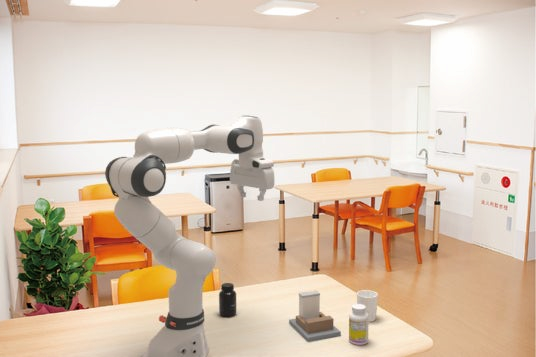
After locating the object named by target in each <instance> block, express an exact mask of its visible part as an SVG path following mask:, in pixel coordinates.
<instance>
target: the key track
mask: <svg viewBox="0 0 536 357" xmlns="http://www.w3.org/2000/svg"><path fill="white" fill-rule="evenodd" d="M288 324H289V325H290V326H291V327H292V328H293V329H294V330H295V331H296V332H297V333H298V334H299V335H300V336H301V337H302V338H303V339H304V340H305V341H306V342H308V343H309V342H315V341H320V340H325V339H330V338H335V337H341V335H342V331H341V330H339V328H337V327H336V326H335V325H334V318H333V317H332V316H331V315H326V314H324V312H321V311H320V317H319V318H313V319H307V320H305V321H304V320H303V319H302V318H301V317H300V316H299V314H298V315H296V316H295V318H290V319H289V320H288Z"/></svg>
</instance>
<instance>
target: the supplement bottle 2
mask: <svg viewBox="0 0 536 357" xmlns="http://www.w3.org/2000/svg"><path fill="white" fill-rule="evenodd" d="M351 310H352V311H351V312H350V313H349V314H348V315H349V316H348V318H349V319H348V341H349V342H350V343H351V344H353V345H357V346H364V345H366V344H367V343H369V342H368V341H369V322H368V319H369V317H368V314H367V313H366V312H365V311H366V306H365V305H362V304H357V303H355V304H352V306H351Z"/></svg>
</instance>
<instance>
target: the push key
mask: <svg viewBox="0 0 536 357" xmlns="http://www.w3.org/2000/svg"><path fill="white" fill-rule="evenodd" d="M320 295H321V292H319V291H318V290H311V291H310V290H309V291H304V292H298V309H299V310H298V315H299V316H300V317H301V318H302V319H303V320H304V321H305V320H307V319H313V318H319V317H320V312H321V311H320V309H321V308H320V300H321V298H320Z"/></svg>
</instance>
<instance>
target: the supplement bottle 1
mask: <svg viewBox="0 0 536 357" xmlns="http://www.w3.org/2000/svg"><path fill="white" fill-rule="evenodd" d="M234 287H235V286H234V283H231V282H224V283H222V284H221V291H219V294H218V309H219V310H218V311H219V312H218V313H219V315H220V316H221V317H225V318H231V317H234V316H235V315H237V292H236V291H235V290H234V289H235V288H234Z"/></svg>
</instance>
